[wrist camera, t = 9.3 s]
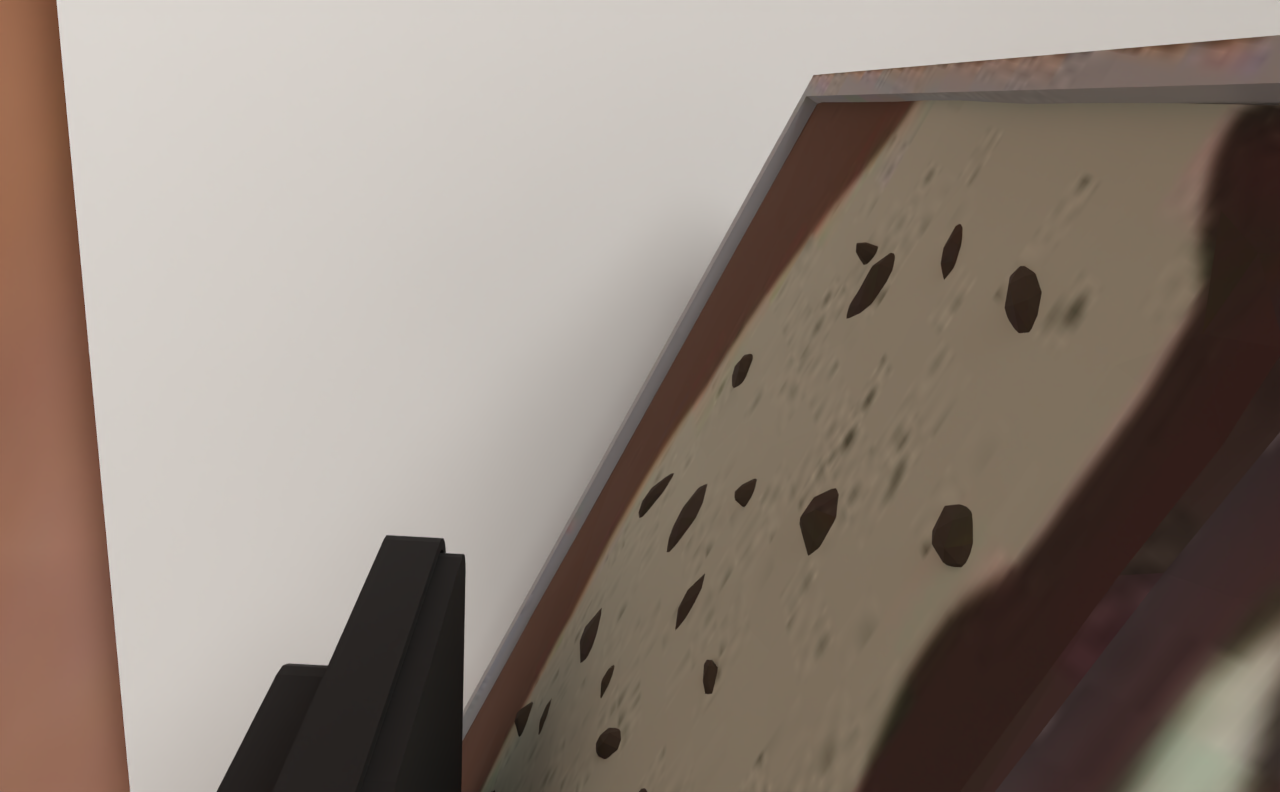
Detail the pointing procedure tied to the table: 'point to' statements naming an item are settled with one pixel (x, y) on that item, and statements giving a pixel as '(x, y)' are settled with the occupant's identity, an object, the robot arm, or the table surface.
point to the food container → (943, 460)
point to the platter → (417, 283)
